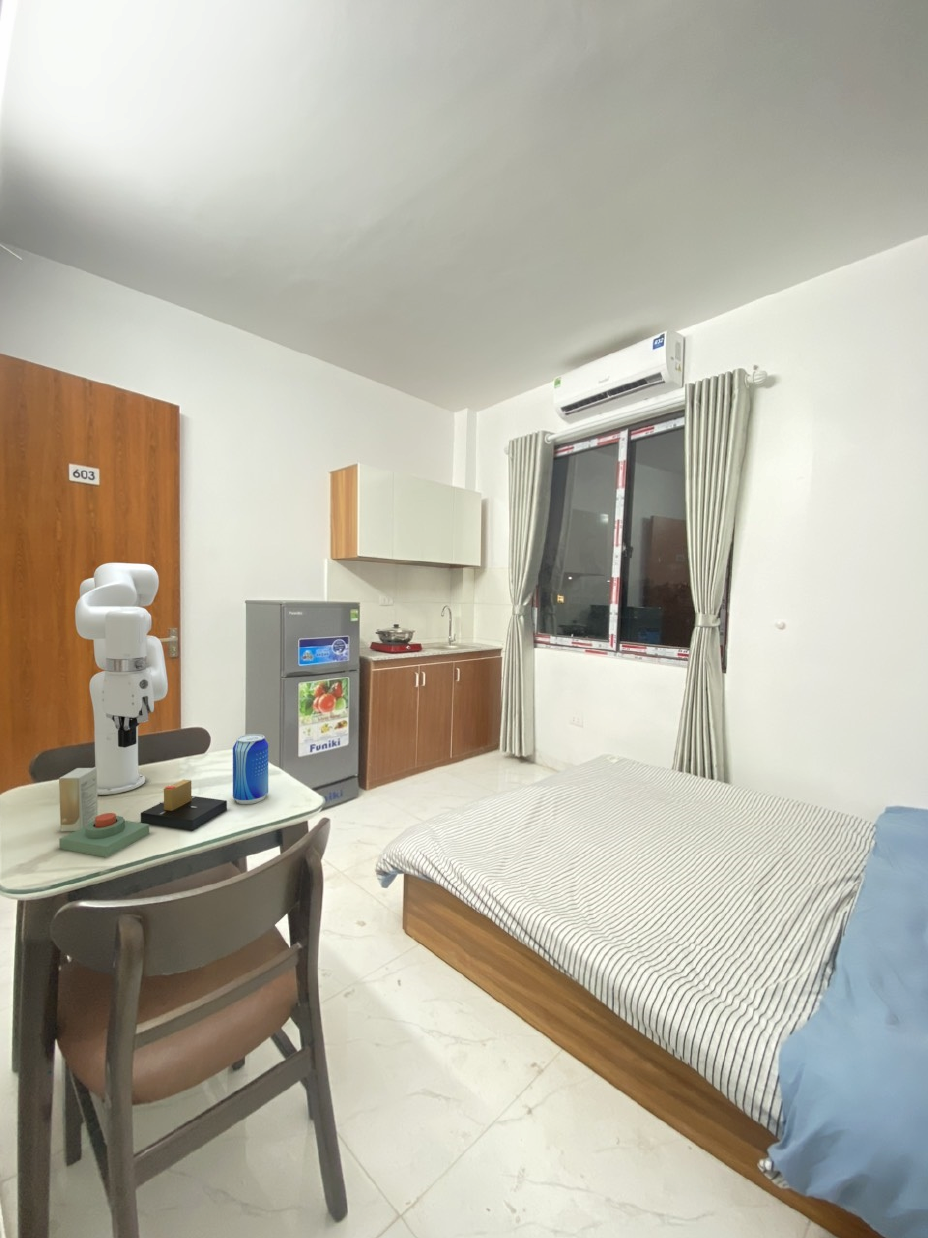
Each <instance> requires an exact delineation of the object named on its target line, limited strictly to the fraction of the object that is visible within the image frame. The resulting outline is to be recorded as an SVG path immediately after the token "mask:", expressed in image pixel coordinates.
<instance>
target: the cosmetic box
mask: <svg viewBox="0 0 928 1238" xmlns="http://www.w3.org/2000/svg"><path fill="white" fill-rule="evenodd" d="M58 786H59V787H58V791H59V813H60V814H59V817H60V818H59V819H60V821H59V822H60V832H75V831H77V830H79V829H81V828H83V827H85V826H87V825H88V824H89V823H90V822H92V821H94V820H95V818H96V817H97V816H99V805H98V804H99V803H98V802H99V801H98V798H99V797H98V795H97V768H94V767H76V768H75V769H73V770H70V771H69V772H67V773H66V774H64V775H62V776H60V777H59V778H58Z"/></svg>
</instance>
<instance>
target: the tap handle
mask: <svg viewBox="0 0 928 1238" xmlns="http://www.w3.org/2000/svg"><path fill="white" fill-rule="evenodd" d="M192 796H193V795H192V779H181V780H180V781H177V782H175V783H173V784H171V785H167V786H165V787H164V788H163V802H164V810H169V811H173V810H175V809H177V808H178V807H180V806H182V805H184V804H186V803H188V802H190V801H191V800H192Z"/></svg>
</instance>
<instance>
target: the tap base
mask: <svg viewBox="0 0 928 1238" xmlns="http://www.w3.org/2000/svg"><path fill="white" fill-rule="evenodd" d="M191 796H192V800H191V801H190V802H188V803H186V804H184V805H182V806H180V807H178V808H177V809H175V810H173V811H169V810H164V801H159V803H157V804H156V805H153V806H151V807H150V808H147V809H145V810H144V811H141V812H140V823H144V824H149V826H156V827H162V828H163V827H165V828H170V829H177V830H183V831H189V832H193V831H194V832H195V830H198V828H200V827H202V826H204V825H205V824H207V823H209V822H211V821H212V820H213V819H216V818H217V817H218V816H220V815H222V814H223V813H225V812H227V811H228V800H225V799H218V798H211V797H205V796H198V795H191Z"/></svg>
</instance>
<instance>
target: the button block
mask: <svg viewBox="0 0 928 1238" xmlns="http://www.w3.org/2000/svg"><path fill="white" fill-rule="evenodd" d="M148 835H150V824H144V823H141V822H138V821H137V822H136V821H131V820H126V819H125V818H124V817H123V816H121V815H120V816H119V815H116V823H115V824H113V825H111V826H107V827H102V828H96V827H95V820H94V821H92V822H90V823H89V824H88V825H87V826H85V827H83V828H81V829H79V830H77V831H72V832H70V833H68V834H66V835H64V836H62V837H60V838H59V839H58V842H59V850H64V851H70V852H74V853H81V854H87V855H92V856H97V857H103V858H108V857H110V856H112V855H113V854H115V853H117V852H119V851H121V850H123V849H125V848H126V847H128V846H130V845H132V844H134V843H136V842H137V841H139V840H141V839H143V838H145V837H146V836H148Z"/></svg>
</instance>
